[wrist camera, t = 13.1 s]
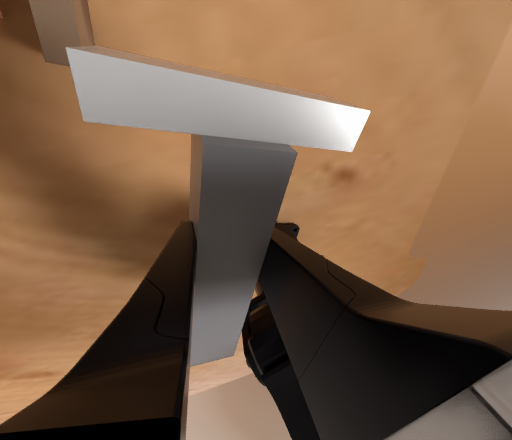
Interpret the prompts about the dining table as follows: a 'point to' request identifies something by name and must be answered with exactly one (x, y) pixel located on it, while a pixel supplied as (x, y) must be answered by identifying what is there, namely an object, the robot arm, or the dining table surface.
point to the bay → (61, 27)
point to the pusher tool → (218, 163)
